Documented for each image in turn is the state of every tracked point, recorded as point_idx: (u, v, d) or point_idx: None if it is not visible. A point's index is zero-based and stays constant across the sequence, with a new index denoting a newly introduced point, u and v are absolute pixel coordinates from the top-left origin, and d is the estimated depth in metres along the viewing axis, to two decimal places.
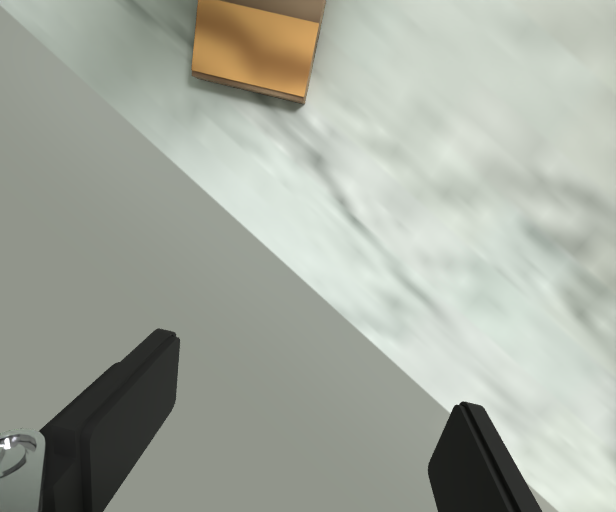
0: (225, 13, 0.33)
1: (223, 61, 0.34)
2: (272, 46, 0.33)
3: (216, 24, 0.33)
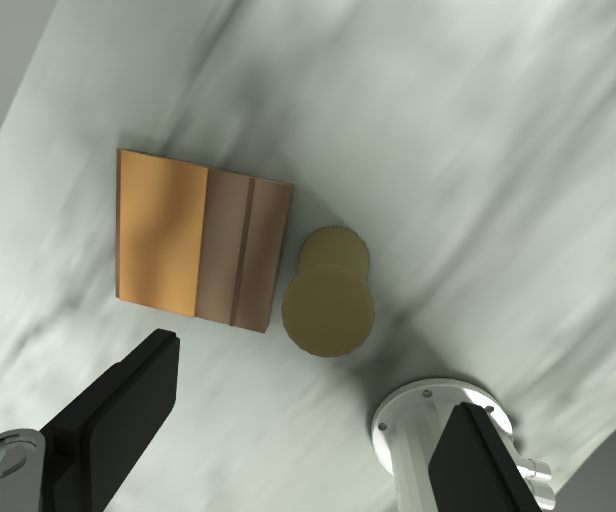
0: (191, 205, 0.24)
1: (138, 199, 0.25)
2: (164, 264, 0.26)
3: (178, 192, 0.24)
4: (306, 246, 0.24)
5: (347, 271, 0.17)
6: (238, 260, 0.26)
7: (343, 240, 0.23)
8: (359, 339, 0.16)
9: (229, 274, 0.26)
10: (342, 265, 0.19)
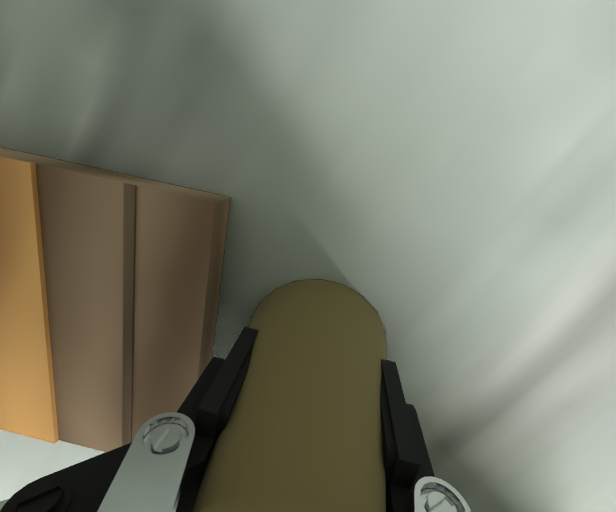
0: (12, 242, 0.12)
1: None
2: None
3: None
4: None
5: None
6: (123, 348, 0.13)
7: (333, 327, 0.10)
8: None
9: (111, 372, 0.13)
10: (323, 463, 0.06)
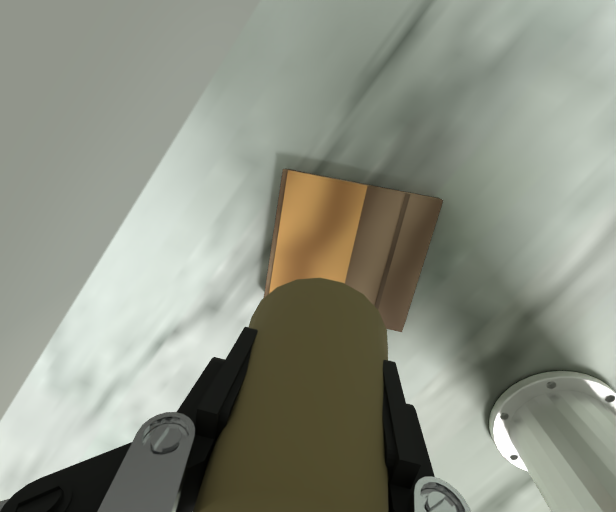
0: (348, 218, 0.27)
1: (298, 213, 0.28)
2: (315, 271, 0.29)
3: (337, 206, 0.27)
4: None
5: None
6: (385, 266, 0.28)
7: (334, 325, 0.10)
8: None
9: (375, 279, 0.29)
10: (325, 462, 0.06)
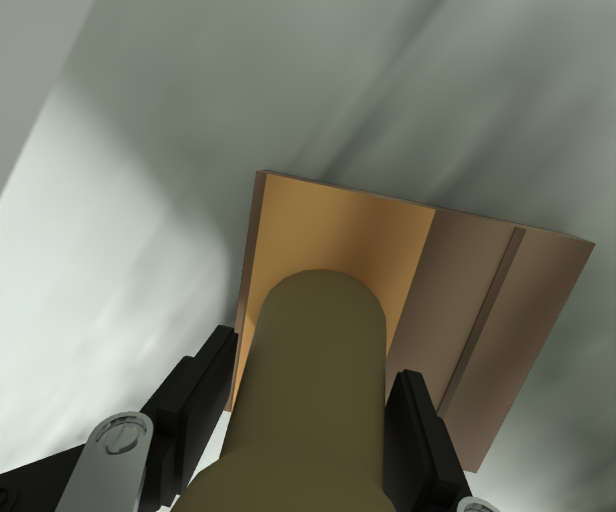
0: (389, 274, 0.13)
1: (288, 260, 0.14)
2: None
3: (368, 250, 0.13)
4: (265, 315, 0.12)
5: (340, 510, 0.05)
6: (457, 364, 0.15)
7: (338, 310, 0.11)
8: None
9: (434, 384, 0.15)
10: (329, 418, 0.07)
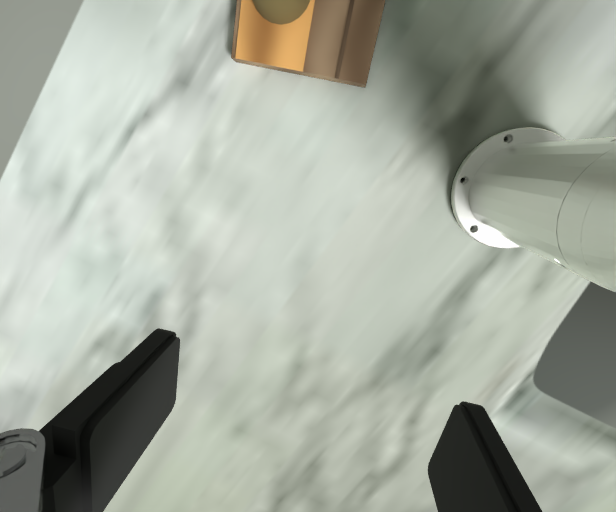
0: None
1: None
2: None
3: None
4: None
5: None
6: (349, 4, 0.29)
7: None
8: None
9: (339, 21, 0.30)
10: None
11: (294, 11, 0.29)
